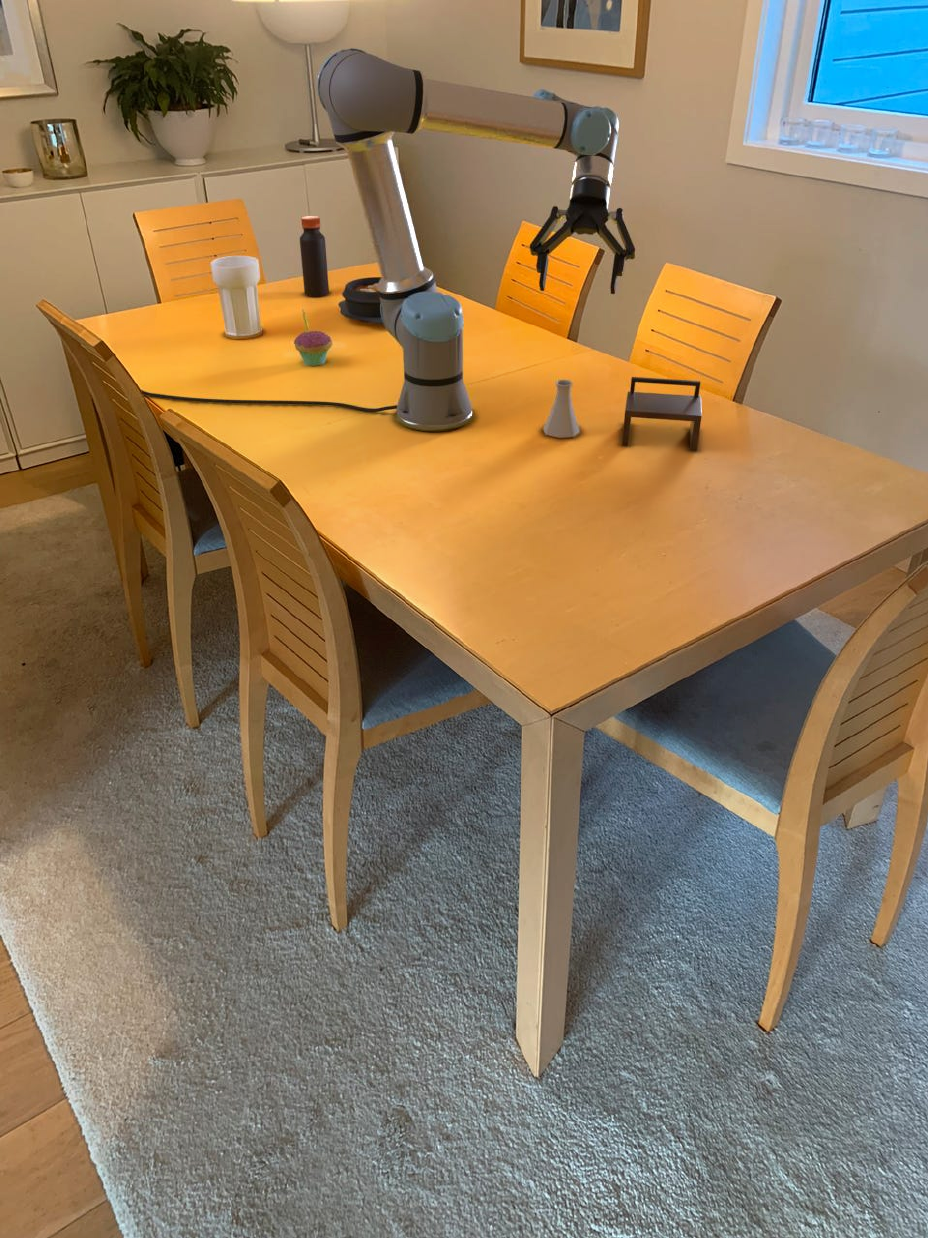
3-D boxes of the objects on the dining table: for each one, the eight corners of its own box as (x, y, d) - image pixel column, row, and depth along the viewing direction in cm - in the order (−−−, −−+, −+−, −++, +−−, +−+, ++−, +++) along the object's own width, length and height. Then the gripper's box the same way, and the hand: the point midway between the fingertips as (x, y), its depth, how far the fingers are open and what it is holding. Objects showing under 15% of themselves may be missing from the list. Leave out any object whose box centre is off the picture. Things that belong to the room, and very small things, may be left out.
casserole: (432, 323, 247) (431, 289, 242) (369, 336, 238) (367, 301, 233) (383, 299, 264) (381, 268, 259) (322, 311, 255) (319, 278, 250)
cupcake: (289, 365, 220) (283, 313, 214) (308, 354, 227) (303, 302, 220) (322, 370, 218) (317, 317, 211) (340, 358, 224) (336, 306, 217)
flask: (577, 440, 185) (581, 390, 180) (540, 437, 187) (542, 387, 181) (581, 425, 191) (585, 377, 186) (545, 423, 192) (547, 374, 187)
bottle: (301, 296, 266) (294, 219, 255) (308, 289, 272) (302, 214, 261) (325, 297, 266) (319, 220, 254) (332, 290, 271) (326, 215, 260)
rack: (621, 445, 183) (626, 395, 178) (624, 425, 192) (629, 376, 186) (696, 451, 181) (703, 400, 176) (696, 430, 189) (703, 381, 184)
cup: (276, 331, 241) (268, 259, 231) (245, 343, 233) (235, 269, 224) (242, 323, 246) (233, 253, 236) (211, 335, 238) (200, 263, 229)
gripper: (655, 200, 188) (642, 301, 185) (529, 197, 193) (515, 295, 190) (656, 176, 181) (642, 281, 178) (525, 174, 186) (510, 275, 183)
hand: (576, 288), depth 184 cm, fingers open, 13 cm apart
